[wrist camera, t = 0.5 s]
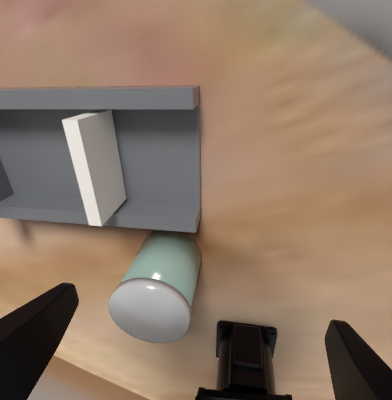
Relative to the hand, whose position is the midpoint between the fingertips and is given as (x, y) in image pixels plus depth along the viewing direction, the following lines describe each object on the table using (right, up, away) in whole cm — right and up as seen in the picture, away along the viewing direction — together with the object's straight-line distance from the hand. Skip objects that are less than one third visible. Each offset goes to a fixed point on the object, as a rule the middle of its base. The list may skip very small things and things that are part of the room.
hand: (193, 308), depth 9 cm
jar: (-2, -2, +16) cm, 16 cm away
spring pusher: (-7, +7, +11) cm, 15 cm away
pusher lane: (-8, +8, +12) cm, 17 cm away
